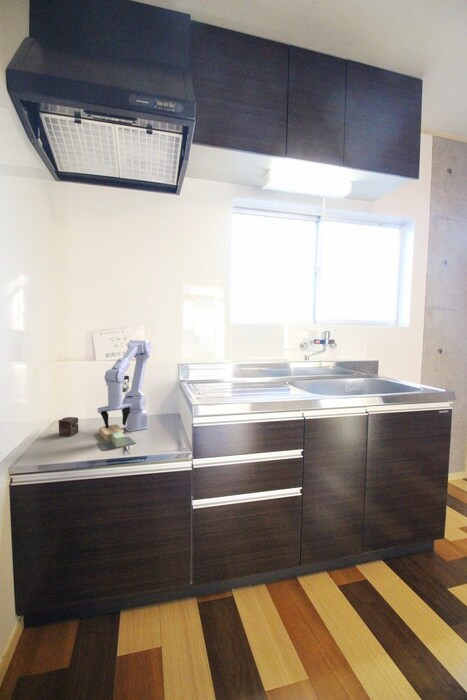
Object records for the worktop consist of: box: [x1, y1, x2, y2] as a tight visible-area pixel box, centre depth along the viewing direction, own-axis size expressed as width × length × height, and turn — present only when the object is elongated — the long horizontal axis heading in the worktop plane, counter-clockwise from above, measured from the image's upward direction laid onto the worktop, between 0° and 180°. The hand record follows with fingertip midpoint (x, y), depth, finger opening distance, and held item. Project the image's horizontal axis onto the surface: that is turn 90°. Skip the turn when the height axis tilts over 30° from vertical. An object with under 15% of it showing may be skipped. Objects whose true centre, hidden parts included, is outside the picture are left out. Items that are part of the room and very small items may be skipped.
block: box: [111, 431, 127, 448], centre depth 144 cm, size 4×4×8 cm
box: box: [58, 416, 79, 437], centre depth 155 cm, size 6×6×7 cm
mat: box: [96, 436, 137, 452], centre depth 145 cm, size 14×10×1 cm
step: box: [98, 424, 125, 441], centre depth 154 cm, size 8×12×3 cm, turn 35°
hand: (115, 426), depth 148 cm, fingers open, 7 cm apart
